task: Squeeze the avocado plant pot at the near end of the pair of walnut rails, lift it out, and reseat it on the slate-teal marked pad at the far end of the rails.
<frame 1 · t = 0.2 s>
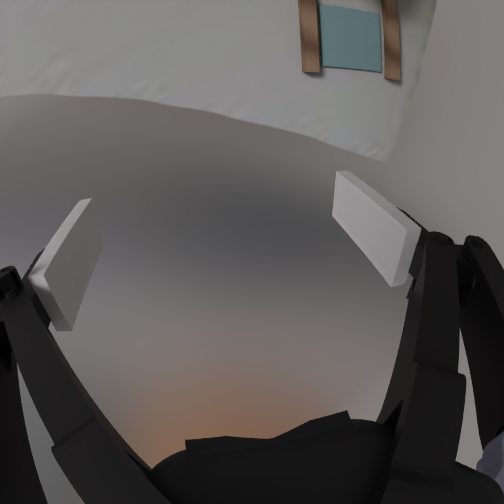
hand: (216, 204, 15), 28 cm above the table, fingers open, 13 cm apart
marked pad: (351, 38, 33), on the table
pair of walnut rails: (349, 3, 30), on the table
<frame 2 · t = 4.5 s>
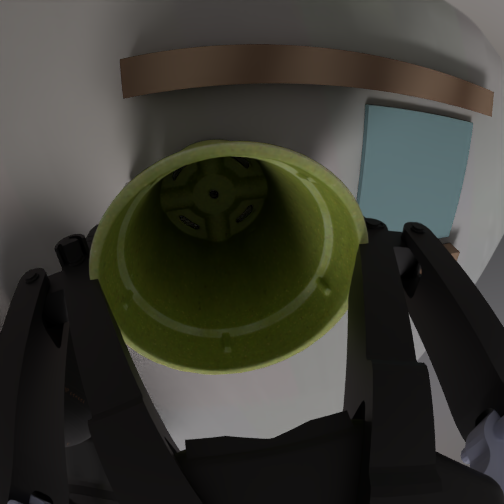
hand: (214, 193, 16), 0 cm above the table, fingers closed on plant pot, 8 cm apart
plant pot: (214, 190, 17), on the table, touching gripper
marked pad: (417, 180, 18), on the table
pair of walnut rails: (345, 181, 18), on the table
speaker: (63, 330, 20), on the table
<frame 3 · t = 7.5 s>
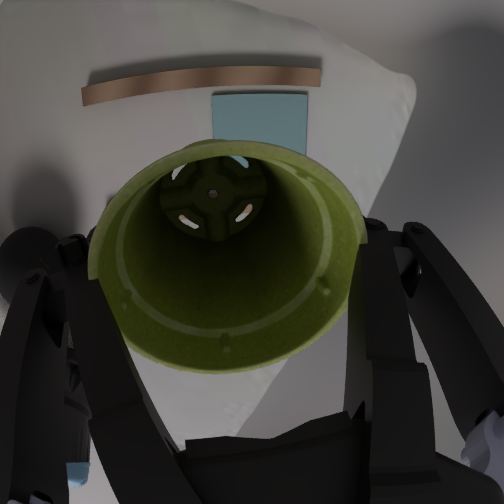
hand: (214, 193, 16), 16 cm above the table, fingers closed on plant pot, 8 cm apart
plant pot: (213, 190, 17), point 15 cm above the table, touching gripper
marked pad: (260, 138, 30), on the table
pair of walnut rails: (204, 142, 30), on the table
speaker: (46, 246, 32), on the table
when the fingers open (1 cm above the table, at t = 10.4 s): plant pot stays where it is, resting on marked pad.
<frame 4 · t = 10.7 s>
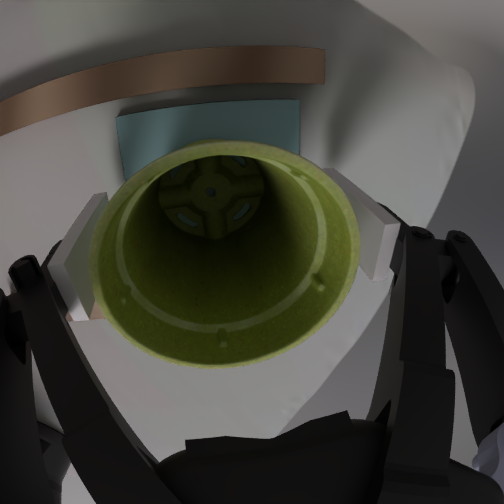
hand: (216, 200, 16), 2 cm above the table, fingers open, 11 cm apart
plant pot: (211, 188, 17), resting on marked pad
marked pad: (213, 187, 17), on the table
pair of walnut rails: (115, 200, 16), on the table
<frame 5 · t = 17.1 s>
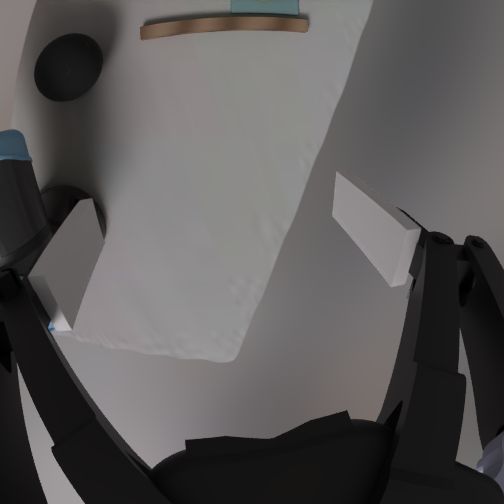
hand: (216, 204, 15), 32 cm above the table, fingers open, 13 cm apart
speaker: (80, 67, 32), on the table
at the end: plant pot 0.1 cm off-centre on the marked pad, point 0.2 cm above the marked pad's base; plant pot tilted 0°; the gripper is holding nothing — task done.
